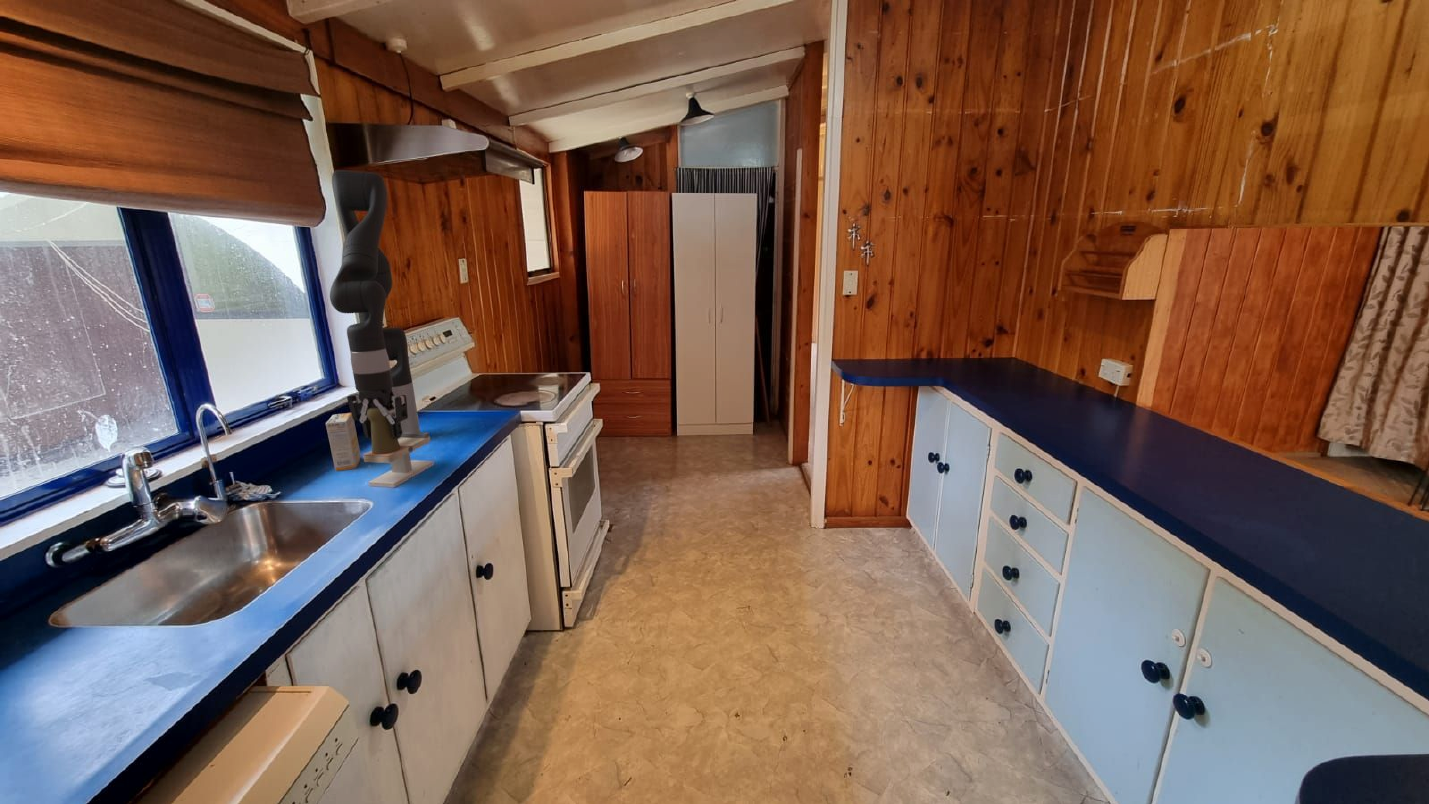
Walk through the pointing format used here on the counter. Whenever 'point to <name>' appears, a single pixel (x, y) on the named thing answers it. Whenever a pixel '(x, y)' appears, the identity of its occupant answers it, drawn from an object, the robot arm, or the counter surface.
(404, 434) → the seesaw
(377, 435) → the cork
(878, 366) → the counter surface
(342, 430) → the supplement box
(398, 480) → the seesaw stand
